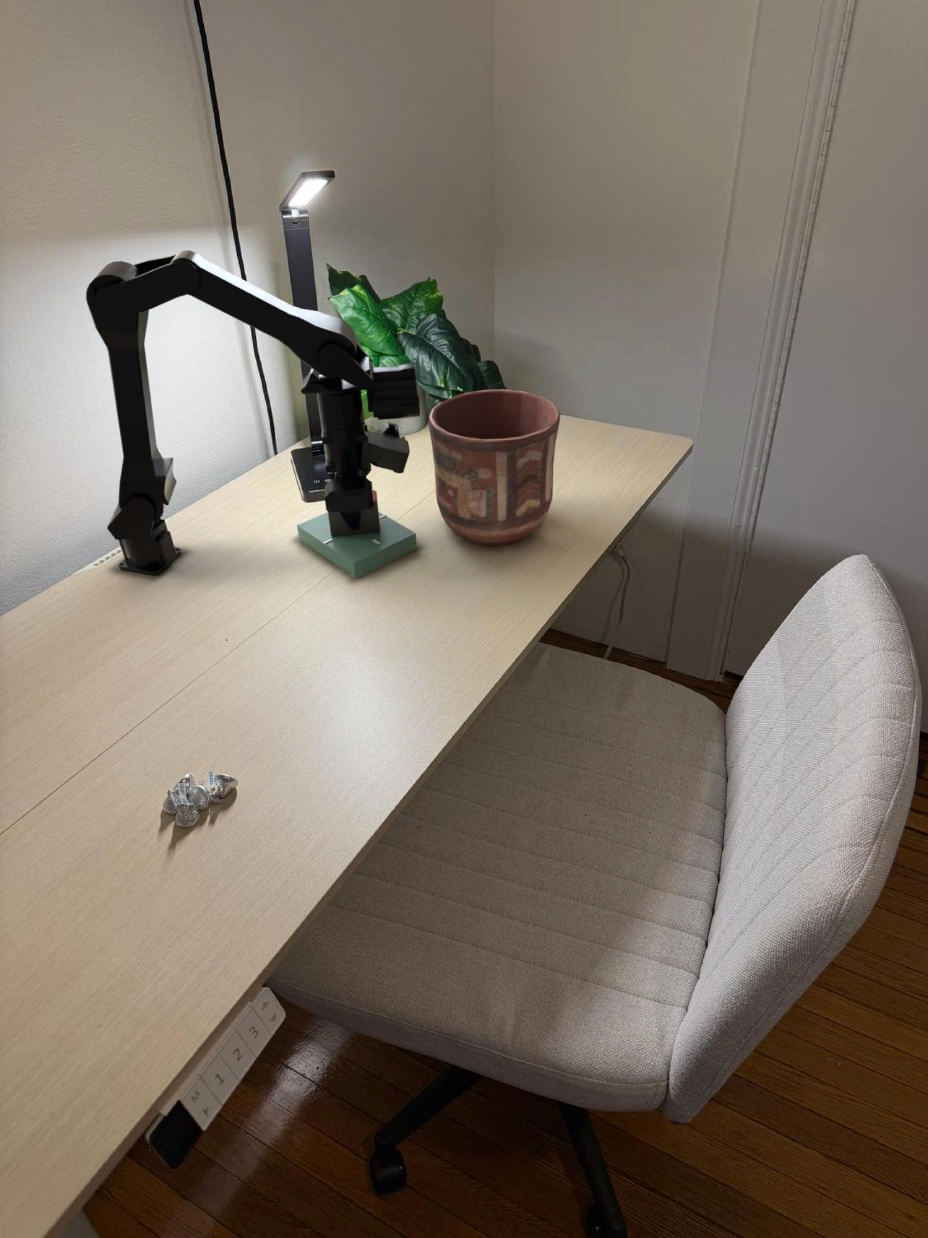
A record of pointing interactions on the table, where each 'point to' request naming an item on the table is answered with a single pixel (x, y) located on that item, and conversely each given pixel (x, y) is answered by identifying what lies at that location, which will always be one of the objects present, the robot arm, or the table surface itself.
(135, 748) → the table surface
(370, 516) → the block
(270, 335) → the robot arm
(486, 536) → the pottery
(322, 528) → the green flat block
